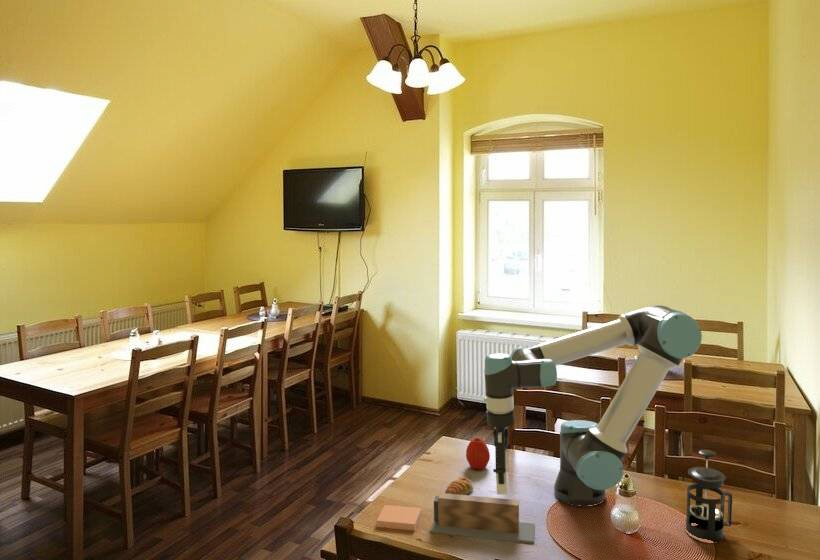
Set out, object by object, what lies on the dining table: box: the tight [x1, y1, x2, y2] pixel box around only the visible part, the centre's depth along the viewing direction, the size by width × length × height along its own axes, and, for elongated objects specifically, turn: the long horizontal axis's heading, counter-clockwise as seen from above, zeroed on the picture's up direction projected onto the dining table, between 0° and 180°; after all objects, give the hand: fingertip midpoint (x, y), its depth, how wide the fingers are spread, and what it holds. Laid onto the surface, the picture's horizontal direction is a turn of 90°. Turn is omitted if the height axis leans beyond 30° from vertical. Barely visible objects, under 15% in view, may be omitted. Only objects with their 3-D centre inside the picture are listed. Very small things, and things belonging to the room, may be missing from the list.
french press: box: [685, 449, 733, 543], centre depth 155 cm, size 12×9×23 cm
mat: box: [429, 519, 536, 544], centre depth 161 cm, size 28×9×1 cm, turn 76°
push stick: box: [433, 492, 520, 533], centre depth 161 cm, size 23×3×8 cm, turn 76°
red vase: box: [465, 437, 491, 471], centre depth 200 cm, size 8×8×11 cm
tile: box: [376, 504, 422, 532], centre depth 167 cm, size 2×9×11 cm
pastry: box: [444, 477, 474, 495], centre depth 182 cm, size 9×7×4 cm
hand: (503, 482), depth 165 cm, fingers open, 13 cm apart
